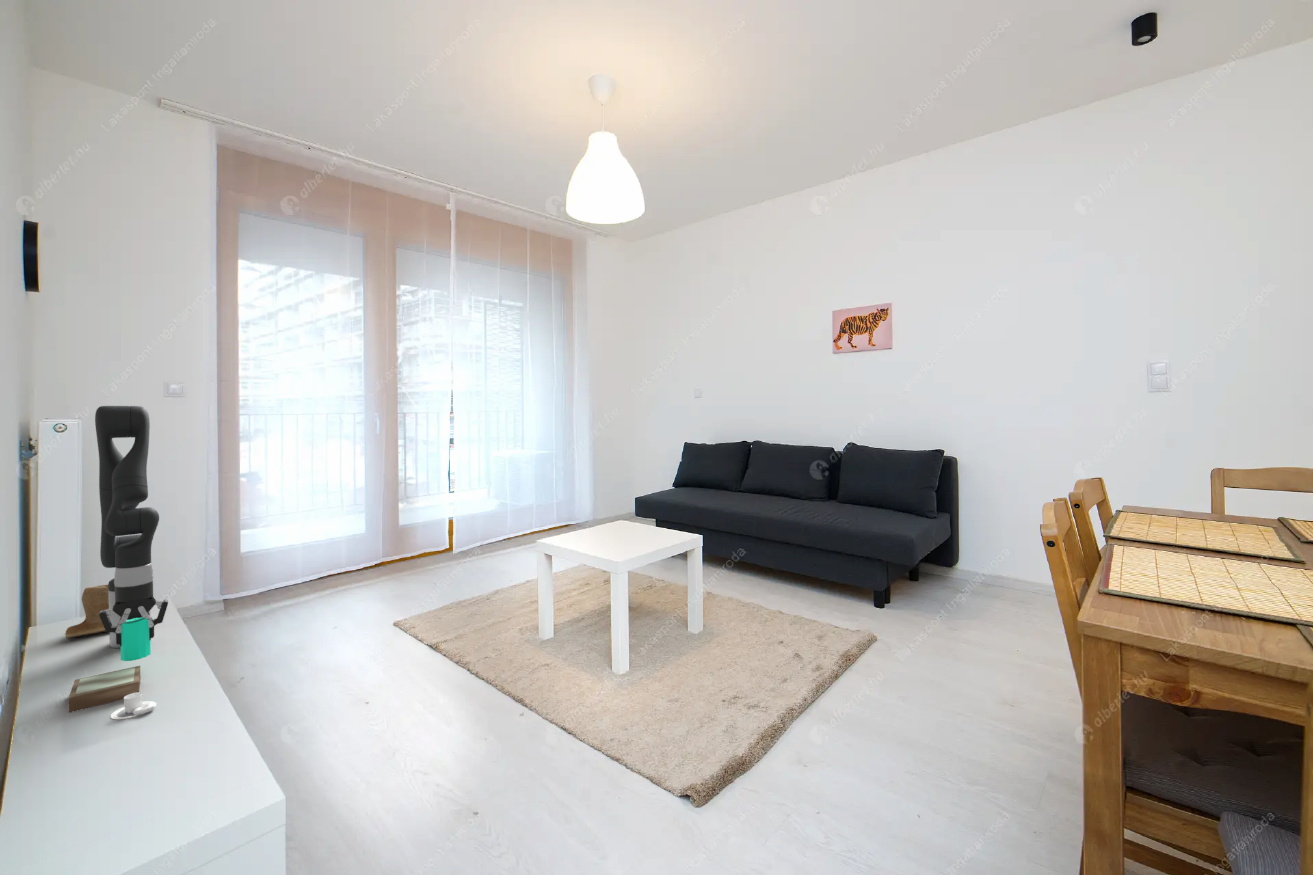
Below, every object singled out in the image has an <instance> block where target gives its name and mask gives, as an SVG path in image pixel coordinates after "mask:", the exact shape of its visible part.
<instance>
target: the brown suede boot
mask: <svg viewBox="0 0 1313 875" xmlns="http://www.w3.org/2000/svg"><path fill="white" fill-rule="evenodd" d="M81 604H82V606H83V607H82V608H83V610H84V615H85V617H84V618H85V619H84V620H83V621H82V622H80V623H77V624H75V625H71V626H69V627H67V628H66V630H65V633H64V634H65V638H67V639H71V638H79V637H83V636H87V635H93V634H100V633H104V632H106V630H105V628H104V626H103V623H102V621H101V619H100V616H99V613H100V611H101V610H107V609H109V596H108V583H107V584H101V585H99V584H98V585H93V586H87V587H85V588H84V589H83V592H82V595H81Z"/></svg>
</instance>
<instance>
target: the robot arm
mask: <svg viewBox="0 0 1313 875" xmlns="http://www.w3.org/2000/svg"><path fill="white" fill-rule="evenodd" d="M149 415H150V414H149V412H148V409H147V408H145V407H144V406H141V405H140V406H138V405H100V406H99V407H97V408H96V411H95V416H94V424H95V431H96V432H95V434H96V441H97V442H96V444H97V449H98V461H99V462H98V463H99V466H98V468H99V469H98V470H99V472H98V473H99V474H98V478H99V480H98V489H99V490H98V491H99V492H98V493H99V503H100V516H101V527H100V528H101V530H100V532H101V533H100V550H99V551H100V552H99V553H100V554H99V556H100V562H101V565H102V567H104V568H106V569H114V568H115V571H114V577H113V578H112V579H111V580H109V581H108V583H107V584H108V596H109V609H107V610H101V611H100V613H99V616H100V619H101V621H102V623H103V626H104V628H105V630H106V631H105V632H106V634H109V648H115V649H117V648H119V649H121V646H122V639H121V632H122V630H121V625H122V624H123V623H126V621H127V620H131V619H133V618H142V617H143V619H145V618H147V620H149V627H150V628H149V640H150V641H152V639H153V638H154V637H155V626H156V625H158V624H162V623H163V620H164V618H165V615H166V612H167V609H168V608H167V607H168V604H169V600H168V599H163V600H156V599H155V597H154V573H153V571H154V570H153V565H152V543H153V541H154V536H155V533H156V530H157V528H158V526H159V521H160V515H159V512H158V510H156V508H153V507H150V506H149V507H148V506H147V507H138V506H139V504H140V503H143V502H144V501H146V500H147V499H148V497H149V489H148V488H149V486H148V485H149V484H148V476H147V474H148V473H147V471H148V468H147V467H148V466H147V465H148V457H149V449H150V448H149V447H150V446H149V445H150V429H151V428H150V426H151V425H150V423H151V422H150V416H149ZM118 438H122V439H123V438H124V439H125V438H126V439H127V438H131V439H132V438H134V442H133V444H132V447H131V448H130V449H129V451H128V452H127V453H126V455H125V456H124V455H122V453H121V452H120V450H118V448H117V446H116V445H115V443H114V440H113V439H118ZM155 605H156V608H157V609H158V610H159V611H158V614H157V617H156V618H154V619H153V616H152V615H151V614H152V613H151V611H152V609H153V608H154V607H155Z"/></svg>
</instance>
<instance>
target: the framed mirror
mask: <svg viewBox="0 0 1313 875" xmlns="http://www.w3.org/2000/svg"><path fill="white" fill-rule="evenodd" d="M141 675H142V674H141V665H137V666H132V667H128V668H122V669H119V670H114V671H109V672H105V673H101V674H95V675H91V676H87V677H83V678H77V679H74V681H73V684H72V687H71V690H70V693H69V696H68V713H69V712H70V713H73V711H74V712H77V710H78V711H82V710H85V708H86V709H89V708H90V709H91V708H93V707H98V706H102V705H106V704H110V703H114V702H118V701H124V697H125V696H127V695H129V694H132V693H137V692H140V689H141V678H142V677H141ZM81 709H82V710H81Z"/></svg>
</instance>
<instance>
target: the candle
mask: <svg viewBox="0 0 1313 875" xmlns="http://www.w3.org/2000/svg"><path fill="white" fill-rule="evenodd" d="M149 628H150V627H149V620H147V618H145V619H143V617H142V618H133V619H131V620H127V621H126V623H123V624H122V625H121V630H122V632H121V639H122V646H121V648H120V660H121V661H122V662H132V661H137V660H141V659H143V658H148V656H150V655H151V654H152V653H151V652H152V650H151V649H152V647H151V644H152V642H151V641H152V640H149Z"/></svg>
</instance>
